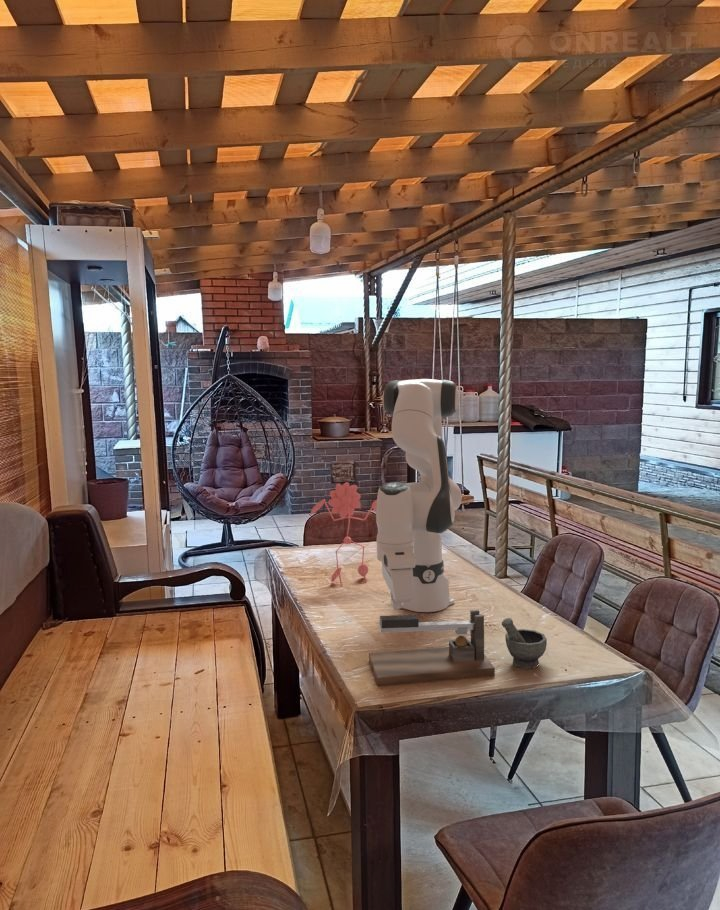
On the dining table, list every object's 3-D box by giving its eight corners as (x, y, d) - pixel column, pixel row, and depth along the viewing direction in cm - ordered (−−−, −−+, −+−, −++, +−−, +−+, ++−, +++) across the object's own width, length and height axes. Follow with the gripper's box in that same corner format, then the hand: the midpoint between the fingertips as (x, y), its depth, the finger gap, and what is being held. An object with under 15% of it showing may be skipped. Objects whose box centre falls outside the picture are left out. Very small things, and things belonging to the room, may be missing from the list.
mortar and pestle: (534, 653, 166) (534, 607, 165) (553, 668, 157) (554, 620, 156) (493, 659, 164) (493, 612, 162) (511, 675, 155) (511, 626, 153)
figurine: (389, 579, 231) (385, 481, 227) (319, 590, 221) (315, 488, 218) (372, 569, 245) (368, 477, 242) (306, 579, 235) (301, 483, 232)
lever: (379, 632, 158) (379, 615, 158) (475, 629, 162) (475, 612, 161) (381, 637, 156) (381, 620, 155) (478, 634, 159) (479, 617, 158)
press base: (369, 660, 165) (367, 610, 163) (476, 651, 168) (476, 603, 167) (377, 686, 151) (376, 632, 149) (494, 675, 154) (494, 622, 153)
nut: (453, 645, 161) (453, 634, 161) (465, 644, 162) (465, 633, 161) (457, 650, 158) (457, 638, 158) (469, 649, 159) (469, 637, 158)
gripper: (375, 540, 165) (376, 593, 167) (389, 564, 145) (390, 624, 147) (400, 539, 166) (400, 592, 168) (417, 562, 146) (417, 622, 148)
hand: (396, 607), depth 157 cm, fingers closed
